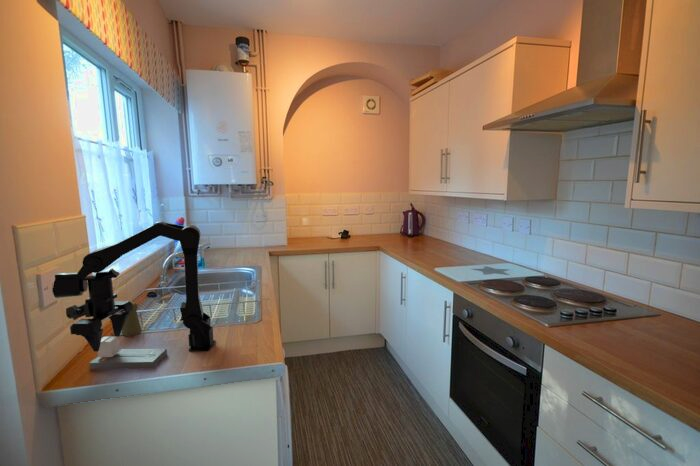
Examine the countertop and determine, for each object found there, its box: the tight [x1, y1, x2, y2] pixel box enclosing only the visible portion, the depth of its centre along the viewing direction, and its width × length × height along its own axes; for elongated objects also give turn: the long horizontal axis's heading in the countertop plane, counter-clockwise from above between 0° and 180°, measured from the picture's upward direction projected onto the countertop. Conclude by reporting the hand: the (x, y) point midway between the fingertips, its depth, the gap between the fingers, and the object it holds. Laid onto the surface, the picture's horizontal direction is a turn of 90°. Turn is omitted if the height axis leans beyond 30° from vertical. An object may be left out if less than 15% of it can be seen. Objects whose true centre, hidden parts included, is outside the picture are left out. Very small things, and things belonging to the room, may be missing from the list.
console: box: [88, 348, 168, 370], centre depth 104 cm, size 18×8×2 cm, turn 91°
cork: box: [121, 301, 142, 337], centre depth 124 cm, size 6×6×11 cm
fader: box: [97, 335, 120, 357], centre depth 103 cm, size 4×4×5 cm
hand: (107, 343), depth 103 cm, fingers open, 9 cm apart
